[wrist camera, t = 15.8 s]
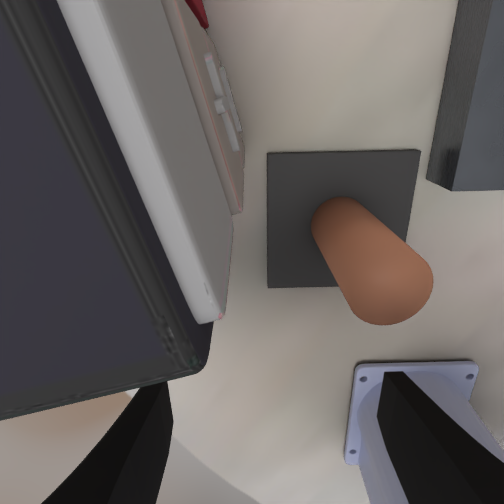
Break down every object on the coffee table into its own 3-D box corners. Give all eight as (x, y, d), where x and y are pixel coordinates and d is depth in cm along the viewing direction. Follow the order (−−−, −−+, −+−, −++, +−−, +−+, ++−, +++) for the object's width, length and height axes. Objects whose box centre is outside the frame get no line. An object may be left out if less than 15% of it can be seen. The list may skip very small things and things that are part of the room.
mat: (394, 280, 21) (398, 284, 20) (267, 283, 21) (267, 288, 20) (416, 149, 18) (421, 150, 17) (267, 152, 18) (267, 154, 17)
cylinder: (364, 248, 19) (426, 322, 13) (310, 252, 19) (344, 327, 13) (369, 195, 18) (439, 246, 12) (311, 198, 18) (349, 252, 12)
